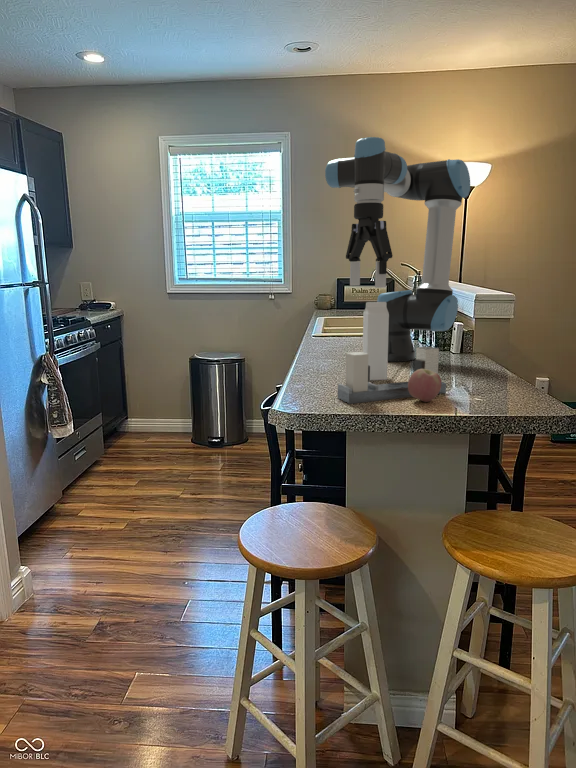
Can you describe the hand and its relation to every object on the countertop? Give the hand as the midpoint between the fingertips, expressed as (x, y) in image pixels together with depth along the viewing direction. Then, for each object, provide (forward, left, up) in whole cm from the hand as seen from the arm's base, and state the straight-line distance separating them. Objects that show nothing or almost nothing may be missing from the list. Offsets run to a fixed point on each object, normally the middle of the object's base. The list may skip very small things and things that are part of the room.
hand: (367, 286), depth 150 cm
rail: (0, +14, -27) cm, 30 cm away
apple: (-3, +22, -27) cm, 35 cm away
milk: (-7, -7, -27) cm, 29 cm away
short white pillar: (+10, +14, -24) cm, 30 cm away
